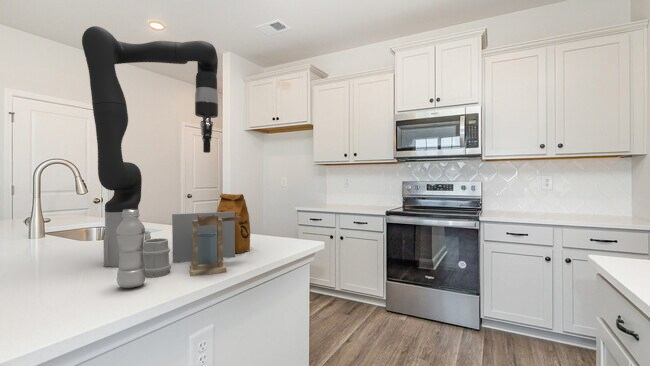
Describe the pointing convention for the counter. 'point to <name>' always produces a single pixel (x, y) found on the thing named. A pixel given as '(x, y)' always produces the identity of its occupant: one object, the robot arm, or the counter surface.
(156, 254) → the mug
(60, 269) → the counter surface
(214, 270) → the stand
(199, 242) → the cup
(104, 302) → the counter surface
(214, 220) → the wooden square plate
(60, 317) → the counter surface
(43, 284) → the counter surface
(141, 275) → the plastic bottle
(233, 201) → the coffee package
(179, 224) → the backboard
